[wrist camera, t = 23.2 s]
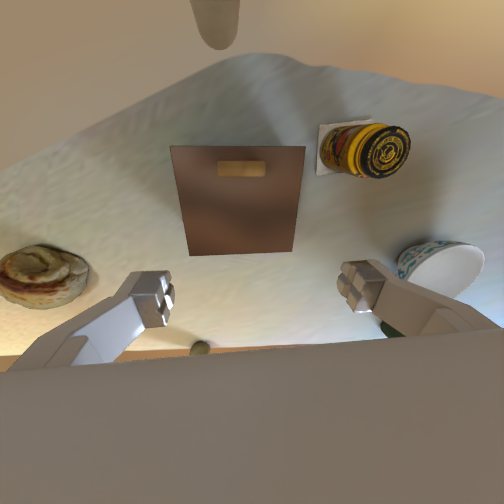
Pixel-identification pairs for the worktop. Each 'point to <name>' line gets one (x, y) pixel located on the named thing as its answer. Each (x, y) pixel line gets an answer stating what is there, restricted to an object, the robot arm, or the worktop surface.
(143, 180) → the worktop surface
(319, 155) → the condiment
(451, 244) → the chinaware
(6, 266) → the pastry
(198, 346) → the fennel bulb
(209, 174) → the chest lid
